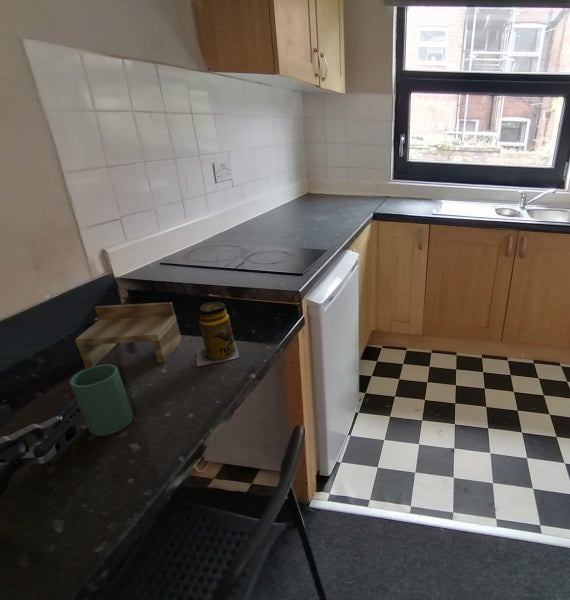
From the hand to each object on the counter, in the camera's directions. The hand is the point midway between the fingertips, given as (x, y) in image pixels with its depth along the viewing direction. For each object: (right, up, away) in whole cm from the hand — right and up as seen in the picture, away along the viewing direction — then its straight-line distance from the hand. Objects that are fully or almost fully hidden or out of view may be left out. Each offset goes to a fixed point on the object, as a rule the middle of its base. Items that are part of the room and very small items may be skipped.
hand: (42, 407), depth 55 cm
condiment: (+8, +2, +36) cm, 37 cm away
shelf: (-11, +3, +36) cm, 38 cm away
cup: (-1, -7, +15) cm, 17 cm away
